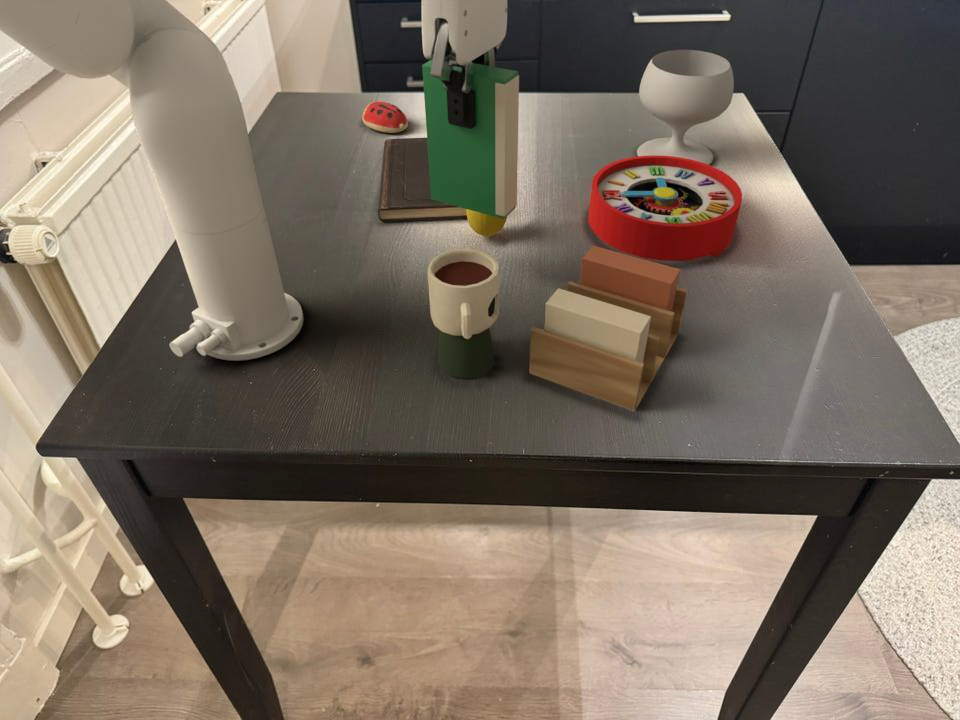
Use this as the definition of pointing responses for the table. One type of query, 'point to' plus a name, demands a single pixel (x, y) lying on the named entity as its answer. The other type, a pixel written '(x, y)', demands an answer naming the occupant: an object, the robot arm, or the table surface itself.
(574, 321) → the cream book
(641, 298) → the terracotta book
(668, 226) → the toy clock
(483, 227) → the lemon
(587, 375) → the book rack
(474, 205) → the green book
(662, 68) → the chalice
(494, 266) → the character mug
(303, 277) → the table surface
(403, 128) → the ladybug figurine
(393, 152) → the hardcover book
